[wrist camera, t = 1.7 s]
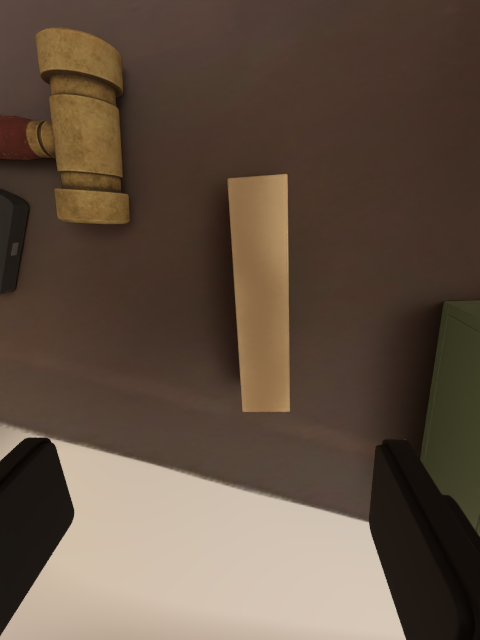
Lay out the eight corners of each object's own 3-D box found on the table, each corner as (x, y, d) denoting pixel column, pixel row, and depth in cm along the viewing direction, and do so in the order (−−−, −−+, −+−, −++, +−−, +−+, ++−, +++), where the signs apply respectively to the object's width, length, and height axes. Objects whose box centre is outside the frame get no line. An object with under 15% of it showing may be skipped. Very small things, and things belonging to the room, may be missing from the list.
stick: (284, 181, 22) (287, 173, 18) (286, 381, 27) (289, 412, 23) (234, 184, 23) (227, 178, 18) (246, 381, 28) (242, 412, 23)
